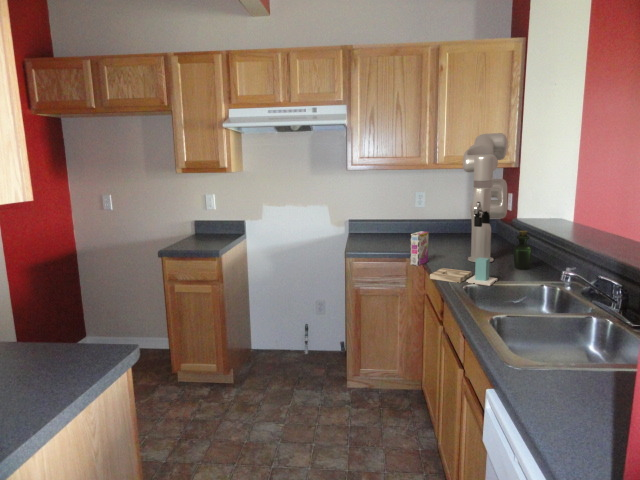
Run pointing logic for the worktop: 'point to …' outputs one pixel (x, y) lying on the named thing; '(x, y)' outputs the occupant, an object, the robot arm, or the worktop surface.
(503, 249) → the worktop surface
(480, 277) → the teal block
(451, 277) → the pocket base
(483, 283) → the tile
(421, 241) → the candy bar box
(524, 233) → the potion bottle
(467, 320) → the worktop surface
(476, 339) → the worktop surface
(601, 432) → the worktop surface
